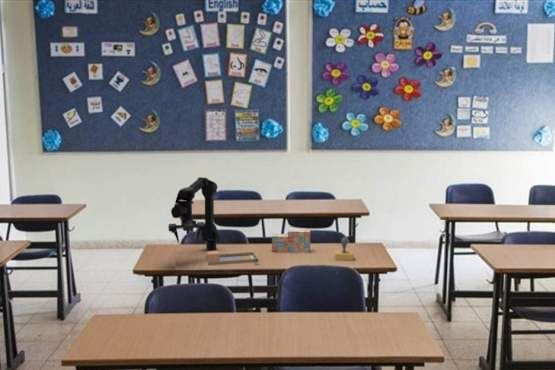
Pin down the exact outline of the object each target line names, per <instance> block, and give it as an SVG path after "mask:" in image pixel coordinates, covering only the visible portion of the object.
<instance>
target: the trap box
mask: <svg viewBox="0 0 555 370" xmlns="http://www.w3.org/2000/svg"><path fill="white" fill-rule="evenodd" d="M219 255H220V261H210V262H208V260H207V254H206V255H205V259H206V262H207V265H208V266H215V265H230V264H231V265H232V264H244V263H245V264H246V263H254V265H255V266H257V265H259V258H258V257H257V255H256V253H255V252H254V251H250V252H249V251H248V252H236V253H235V252H233V253H221V254H220V253H219ZM246 256H249V257H250V258H246V259H245V258H244V259H243V257H246Z"/></svg>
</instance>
